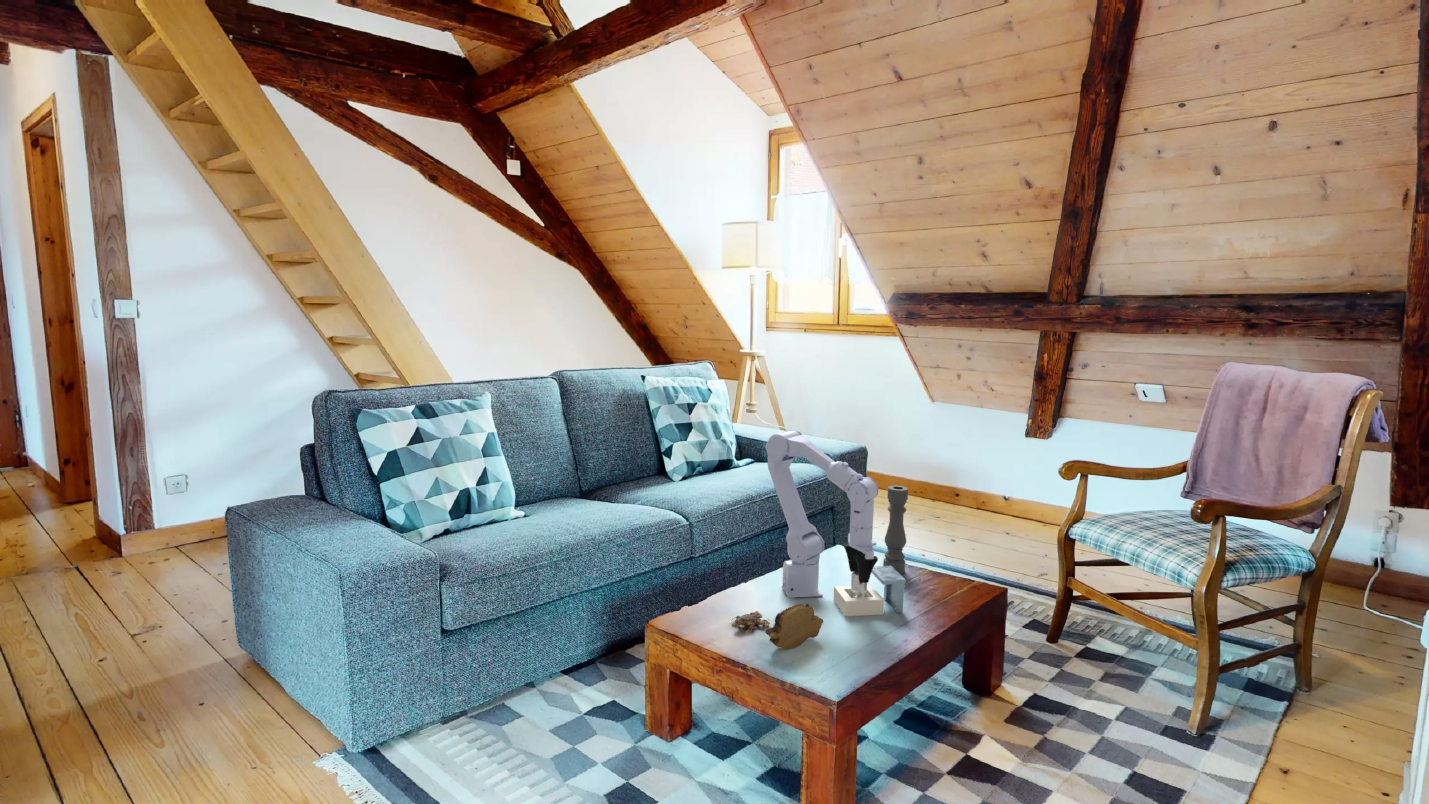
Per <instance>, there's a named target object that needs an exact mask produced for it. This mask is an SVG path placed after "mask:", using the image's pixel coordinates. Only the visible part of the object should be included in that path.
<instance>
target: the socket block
mask: <svg viewBox="0 0 1429 804" xmlns="http://www.w3.org/2000/svg"><path fill="white" fill-rule="evenodd" d="M833 602H834V604H835V605H836V604H837V605H836V606H837V608H838V609H839V608H840V609H839V610H840V611H841V613H842V612H843V613H842V614H843V616H844V617H857V616H858V617H859V616H860V617H861V616H863V617H865V616H877V615H878V616H881V615H883V616H884V609H885V608H884V607H885V606H884V605H885V604H884V603H885V600H884V597H882V596H881V594H879V592H878V591H877V590H876V589H875V588H874V587H873V586H872V584H867V597H860V598H851V585H841V586H840V585H837V586H833Z"/></svg>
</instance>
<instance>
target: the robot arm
mask: <svg viewBox="0 0 1429 804" xmlns="http://www.w3.org/2000/svg"><path fill="white" fill-rule="evenodd" d="M765 450H766V453H767V469H768V472H769V475H770V478H771V480H772V484H773V486H774V488H775V492H776V495H777V497H778V500H779V504H780V506H781V509H782V512H783V515H784V517H785V520H786V523H787V526H788V531H787V534H786V536H785V541H786V543H787V549H786V550H787V555H788V557H789V558H790V559H789V560H785V561H783V566H782V585H781V588H782V590H783V591H784V593H785V595H786V596H787V597H788V598H790V599H791V598H811V597H814V598H815V597H823V593H822V592H821V590H820V589H819V577H820V576H819V574H820V572H819V571H820V569H819V568H820V557H821V554H822V553H824V550H825V541H824V539H823V537H822V536H821V535H820V534H819V532H818V530H817V528H816V526H814V524H812V523H811V522H810V521H809V520H808V517H807V514H806V511H805V509H804V506H803V503H802V499H801V497H800V495H799V492H798V488H797V486H796V482H795V480H794V476H793V474H792V471H791V469H790V467H791V464H793V461H794V459H795V458H797V457H803V458H804V459H806V460H808V461H809V462H811V463H812V464H813V465H815V466H816V467H817V468H819V469H820V470H823V471H824V472H825V473H826V476H827V480H828V481H830V482H831V483H833V484H834V485H836V487H838V488H839V489H841V490H842V491H843V492H845V493H846V496H847V498H848V500H849V501H850V519H849V533H847V541H848V543H843V545H842V547H843V548H844V550H845V553H846V556H847V561H848V566H849V571H850V572H851V573H853V572H858V573H859V581H860V583H867V584H868V583H869V581H870V578H871V575H872V573H871V572H872V569H873V567H875V565H876V564H877V563H878V560H879V557H878V556H877V555H875V550H873V549H874V548H873V546H877V541H875V540H873V529H874V528H873V527H874V511H875V510H874V509H875V507H874V505H875V500H874V499H875V498H876V497H877V496H878V495H879V486H878V483H877V482H876V481H875V480H874V479H873V478H872V477H870V476H866V477H865V476H864V475H863V474H861V473H858V472H856V471H855V470H854V469H853V468H852V467H850V465H849V463H848V462H846V461H844V462H843V461H841V460H837V461H834V460H833V459H832V458H831V457H829V456H828V455H827V454H826V453H825V452H824V451H822V450H821V449H820V448H819V447H817V445H815V444H814V443H813V442H812V441H811V440H810V439H809V437H808V436H807V435H805V434H803V433H802V432H801V431H800V430H798V429H790V430H789V431H786V432H781V433H780V432H779V433H776V434H772V435H771V436H770V437H769V438H768V439H767V442H766V444H765Z"/></svg>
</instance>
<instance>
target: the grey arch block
mask: <svg viewBox="0 0 1429 804" xmlns="http://www.w3.org/2000/svg"><path fill="white" fill-rule="evenodd" d="M871 575H873V576H874V577H875V578H876V580H878V581H879V583H881V585H884V588H883V599H885V600H884V602H889V603H890V605H891V606H893V607H894V612H895V613H896V614H903V613H904V593H905V591H904V589H905V584H906V581H907V580H906V578H904V577H903V575H900V574H899V573H898V572H897V571H896V570H895V569H894V568H893V567H892V566H883V565H882V566H881V565H880V566H879V565H878V566H874V567H873V569H872V572H871Z"/></svg>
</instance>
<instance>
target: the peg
mask: <svg viewBox="0 0 1429 804" xmlns="http://www.w3.org/2000/svg"><path fill="white" fill-rule="evenodd" d="M867 585H868V583H860V581H859V573H858V572H851V583H850V586H851V598H860V597H867Z"/></svg>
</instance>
